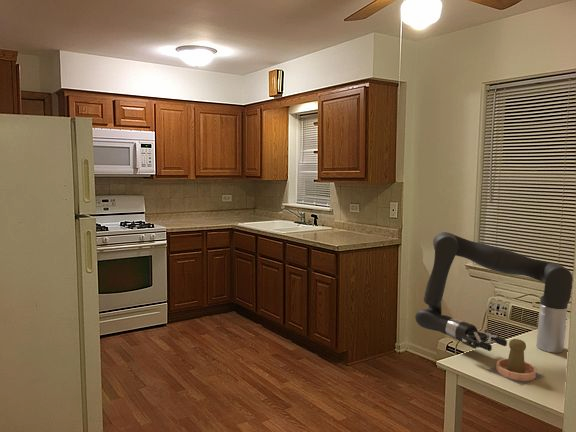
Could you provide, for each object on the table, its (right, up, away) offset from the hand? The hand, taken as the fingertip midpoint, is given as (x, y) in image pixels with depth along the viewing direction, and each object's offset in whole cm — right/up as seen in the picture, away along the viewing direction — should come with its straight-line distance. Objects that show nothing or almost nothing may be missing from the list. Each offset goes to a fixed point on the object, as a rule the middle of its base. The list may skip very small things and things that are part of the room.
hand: (498, 345), depth 169 cm
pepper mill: (+4, -7, -5) cm, 10 cm away
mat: (+4, -8, -5) cm, 10 cm away
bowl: (+4, -8, -5) cm, 10 cm away
